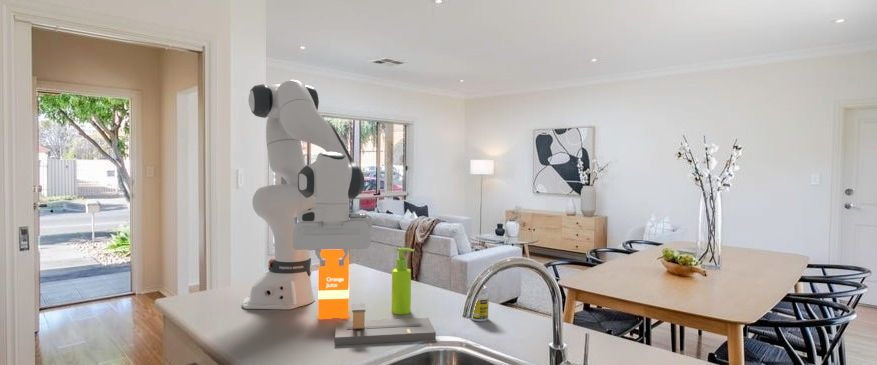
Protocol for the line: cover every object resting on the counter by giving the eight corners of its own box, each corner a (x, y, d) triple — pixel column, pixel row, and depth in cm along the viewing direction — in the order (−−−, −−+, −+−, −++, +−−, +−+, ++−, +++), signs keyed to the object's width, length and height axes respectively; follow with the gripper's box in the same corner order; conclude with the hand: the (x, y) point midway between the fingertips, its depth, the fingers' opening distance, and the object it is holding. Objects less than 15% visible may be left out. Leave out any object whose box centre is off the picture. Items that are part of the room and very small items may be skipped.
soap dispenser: (410, 315, 147) (411, 250, 146) (389, 313, 149) (389, 249, 148) (415, 309, 153) (416, 247, 152) (394, 308, 154) (395, 246, 153)
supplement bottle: (480, 323, 141) (481, 290, 141) (466, 318, 145) (467, 286, 144) (491, 318, 145) (492, 286, 145) (477, 314, 149) (478, 283, 148)
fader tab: (352, 330, 126) (352, 310, 126) (352, 323, 132) (352, 304, 132) (365, 329, 127) (365, 309, 127) (364, 323, 132) (364, 303, 132)
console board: (334, 345, 123) (335, 336, 122) (336, 329, 134) (336, 321, 134) (435, 339, 127) (435, 331, 127) (428, 324, 139) (428, 317, 139)
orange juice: (348, 318, 144) (348, 251, 143) (317, 319, 142) (318, 252, 142) (349, 310, 151) (349, 247, 151) (320, 311, 150) (320, 247, 149)
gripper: (371, 212, 132) (371, 262, 132) (294, 212, 128) (294, 264, 129) (372, 214, 126) (372, 267, 126) (291, 215, 122) (291, 269, 123)
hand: (332, 265), depth 127 cm, fingers open, 3 cm apart
